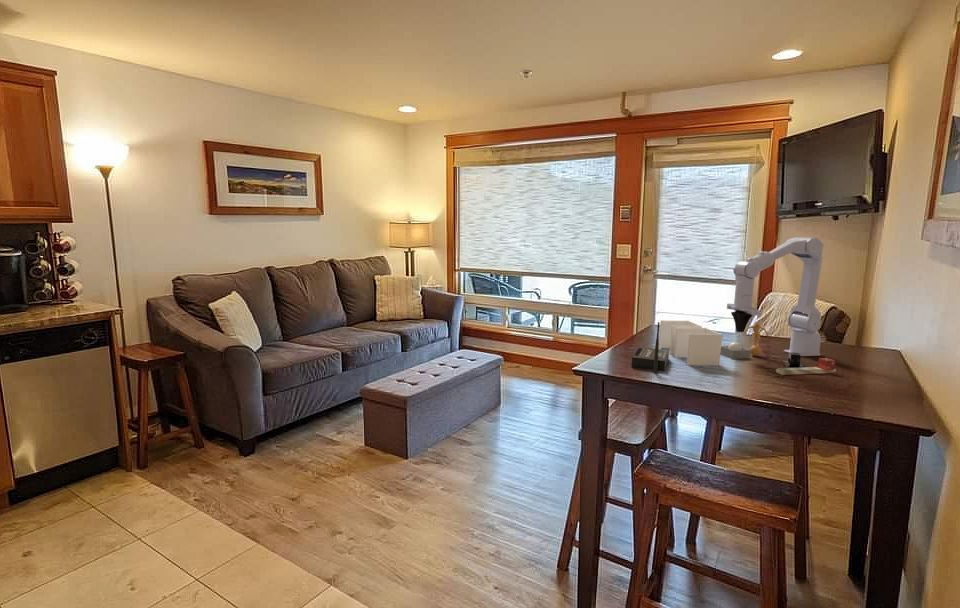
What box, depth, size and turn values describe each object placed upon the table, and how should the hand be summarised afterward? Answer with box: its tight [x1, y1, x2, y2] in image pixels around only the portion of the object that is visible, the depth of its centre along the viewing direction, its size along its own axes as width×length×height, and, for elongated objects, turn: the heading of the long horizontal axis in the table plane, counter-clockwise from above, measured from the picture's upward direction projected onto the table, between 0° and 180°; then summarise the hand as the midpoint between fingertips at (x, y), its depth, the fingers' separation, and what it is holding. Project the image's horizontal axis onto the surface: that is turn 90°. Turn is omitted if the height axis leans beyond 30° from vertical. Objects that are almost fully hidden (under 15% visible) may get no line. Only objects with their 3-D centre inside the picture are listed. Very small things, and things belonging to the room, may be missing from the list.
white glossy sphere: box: [727, 341, 743, 350], centre depth 186 cm, size 5×5×5 cm
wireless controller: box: [631, 321, 670, 374], centre depth 171 cm, size 20×14×17 cm
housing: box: [720, 345, 751, 360], centre depth 186 cm, size 7×7×3 cm
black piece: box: [782, 352, 804, 368], centre depth 175 cm, size 12×7×5 cm, turn 158°
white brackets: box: [659, 320, 723, 366], centre depth 184 cm, size 25×11×11 cm, turn 3°
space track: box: [775, 357, 837, 376], centre depth 166 cm, size 20×4×4 cm, turn 100°
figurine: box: [743, 323, 769, 357], centre depth 187 cm, size 8×6×12 cm
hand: (740, 331), depth 184 cm, fingers closed
